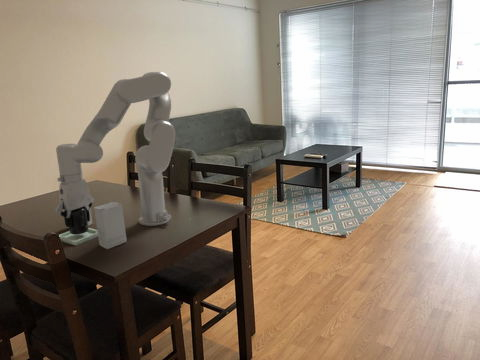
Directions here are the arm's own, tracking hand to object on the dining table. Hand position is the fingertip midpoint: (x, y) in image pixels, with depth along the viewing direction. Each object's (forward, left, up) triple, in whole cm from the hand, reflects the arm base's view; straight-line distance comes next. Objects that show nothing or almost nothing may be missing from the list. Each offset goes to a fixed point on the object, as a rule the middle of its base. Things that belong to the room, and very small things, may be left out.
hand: (78, 223), depth 152 cm
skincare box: (-16, -2, -6) cm, 17 cm away
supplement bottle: (0, 0, -4) cm, 4 cm away
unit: (+11, -8, -6) cm, 14 cm away
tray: (0, 0, -6) cm, 6 cm away
